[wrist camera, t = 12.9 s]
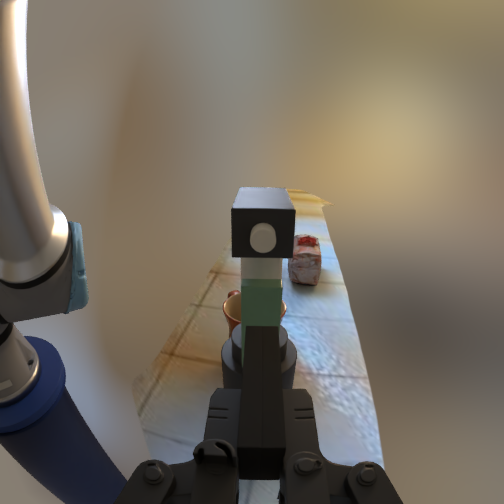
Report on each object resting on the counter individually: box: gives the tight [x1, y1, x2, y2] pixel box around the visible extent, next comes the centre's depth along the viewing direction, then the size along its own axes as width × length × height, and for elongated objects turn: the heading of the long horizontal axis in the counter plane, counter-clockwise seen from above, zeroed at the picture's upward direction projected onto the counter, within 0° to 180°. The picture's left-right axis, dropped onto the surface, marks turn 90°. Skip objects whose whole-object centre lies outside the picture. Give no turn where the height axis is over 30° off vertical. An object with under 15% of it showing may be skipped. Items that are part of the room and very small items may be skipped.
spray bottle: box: [221, 187, 297, 389], centre depth 25 cm, size 10×7×28 cm
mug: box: [223, 290, 286, 338], centre depth 44 cm, size 12×9×10 cm
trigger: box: [241, 279, 283, 368], centre depth 20 cm, size 1×3×7 cm, turn 89°
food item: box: [288, 235, 321, 285], centre depth 71 cm, size 14×8×10 cm, turn 173°
